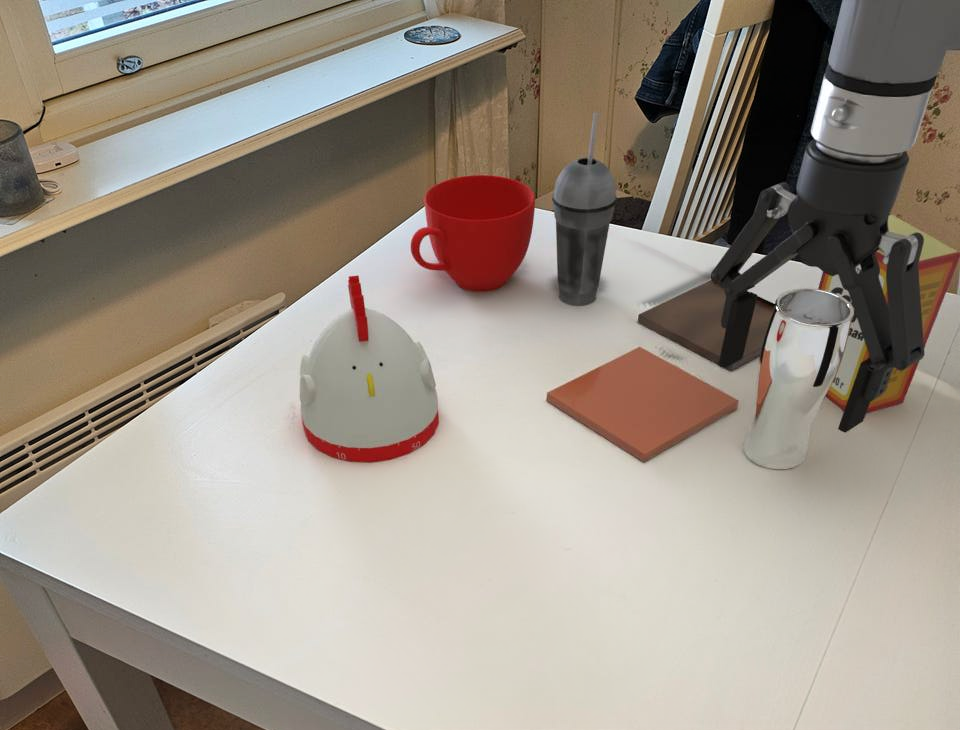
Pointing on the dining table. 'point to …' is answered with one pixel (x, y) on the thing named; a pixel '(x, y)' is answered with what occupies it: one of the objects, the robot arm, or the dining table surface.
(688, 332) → the walnut board
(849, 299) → the baking soda box
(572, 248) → the beverage cup
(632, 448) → the terracotta tile
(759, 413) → the beer glass
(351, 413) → the kitchen timer
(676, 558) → the dining table surface
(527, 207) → the ceramic cup
